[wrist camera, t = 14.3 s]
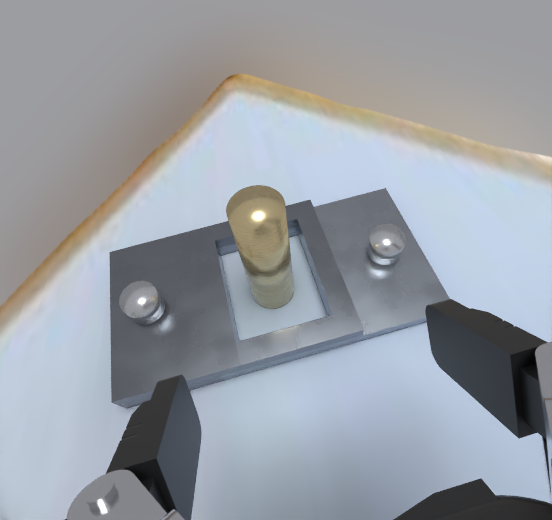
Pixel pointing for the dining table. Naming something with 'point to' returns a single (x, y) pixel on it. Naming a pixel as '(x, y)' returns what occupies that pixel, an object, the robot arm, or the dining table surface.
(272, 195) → the pin
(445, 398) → the dining table surface
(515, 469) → the dining table surface
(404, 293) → the chain end lower
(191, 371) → the chain end upper
